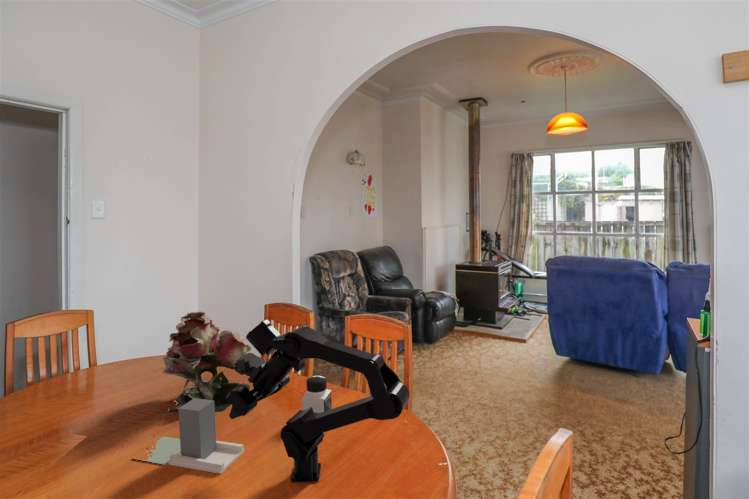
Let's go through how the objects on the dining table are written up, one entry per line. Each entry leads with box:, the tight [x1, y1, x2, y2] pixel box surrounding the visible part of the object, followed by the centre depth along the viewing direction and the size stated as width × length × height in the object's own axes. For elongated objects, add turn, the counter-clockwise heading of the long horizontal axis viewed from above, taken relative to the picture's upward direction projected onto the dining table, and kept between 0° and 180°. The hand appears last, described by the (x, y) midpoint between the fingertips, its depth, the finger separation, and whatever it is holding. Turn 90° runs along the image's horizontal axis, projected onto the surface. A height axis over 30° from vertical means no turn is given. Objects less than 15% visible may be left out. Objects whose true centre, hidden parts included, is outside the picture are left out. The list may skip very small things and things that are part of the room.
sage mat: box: [135, 436, 181, 466], centre depth 112 cm, size 10×11×1 cm
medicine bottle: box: [301, 375, 333, 413], centre depth 129 cm, size 7×7×12 cm
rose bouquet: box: [162, 311, 252, 413], centre depth 142 cm, size 26×29×30 cm
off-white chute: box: [168, 440, 245, 475], centre depth 108 cm, size 15×10×2 cm, turn 74°
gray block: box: [177, 398, 217, 459], centre depth 108 cm, size 6×6×13 cm
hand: (242, 409), depth 105 cm, fingers open, 9 cm apart
